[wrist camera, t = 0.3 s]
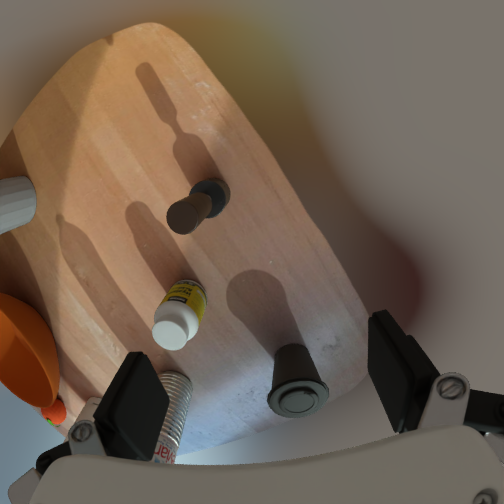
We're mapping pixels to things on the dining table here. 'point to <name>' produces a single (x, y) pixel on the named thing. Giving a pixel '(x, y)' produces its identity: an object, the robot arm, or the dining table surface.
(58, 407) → the clementine
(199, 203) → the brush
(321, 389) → the coffee cup
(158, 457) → the water bottle
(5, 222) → the grey utensil holder
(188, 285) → the supplement bottle
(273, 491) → the robot arm
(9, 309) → the bowl
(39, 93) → the dining table surface
